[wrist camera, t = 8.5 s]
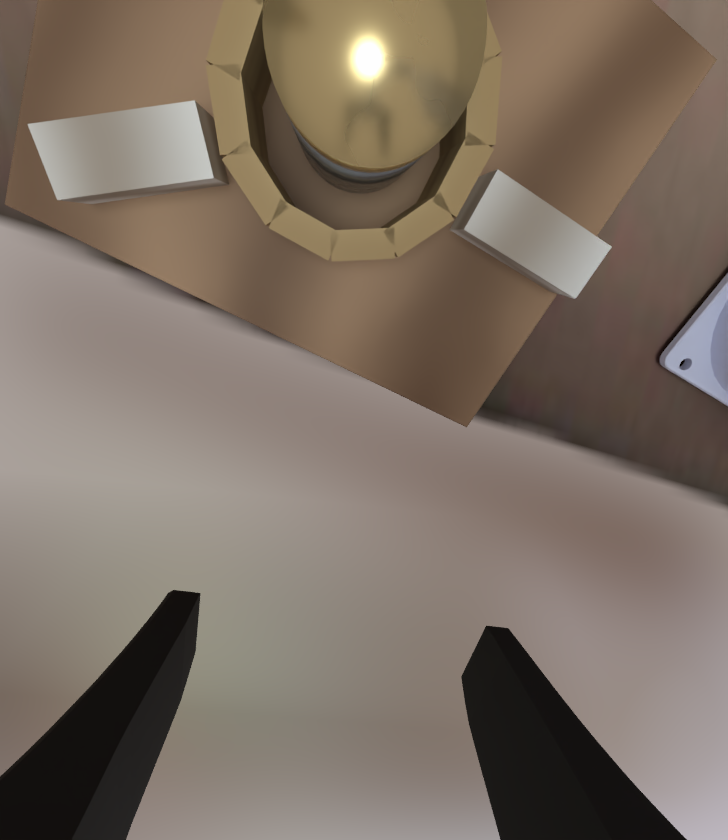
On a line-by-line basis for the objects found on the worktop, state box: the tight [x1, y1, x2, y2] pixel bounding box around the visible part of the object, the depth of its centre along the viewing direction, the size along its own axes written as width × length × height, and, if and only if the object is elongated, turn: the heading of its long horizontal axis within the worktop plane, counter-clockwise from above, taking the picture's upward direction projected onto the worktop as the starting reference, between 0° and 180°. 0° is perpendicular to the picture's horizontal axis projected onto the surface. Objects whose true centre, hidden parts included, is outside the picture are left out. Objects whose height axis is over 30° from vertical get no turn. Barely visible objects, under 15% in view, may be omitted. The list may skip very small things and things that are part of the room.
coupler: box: [262, 0, 487, 194], centre depth 10 cm, size 4×4×6 cm
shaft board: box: [5, 0, 717, 427], centre depth 12 cm, size 18×14×4 cm
